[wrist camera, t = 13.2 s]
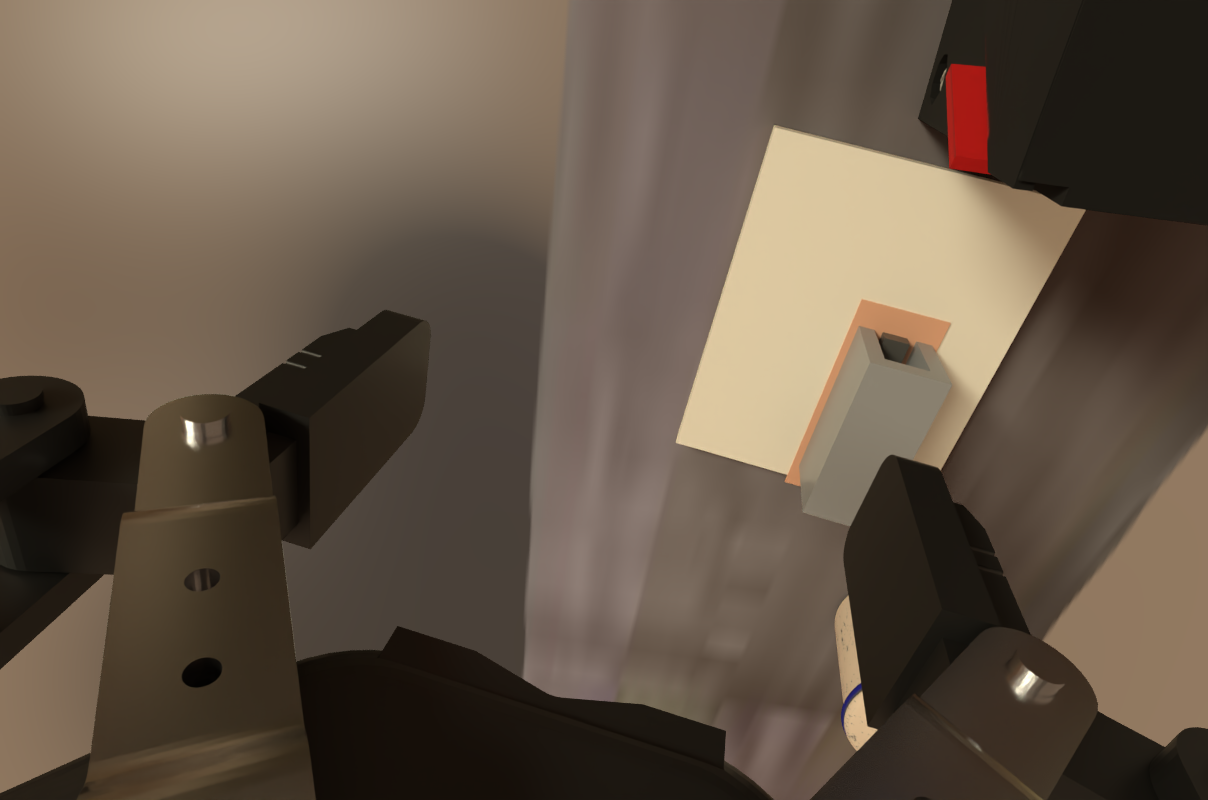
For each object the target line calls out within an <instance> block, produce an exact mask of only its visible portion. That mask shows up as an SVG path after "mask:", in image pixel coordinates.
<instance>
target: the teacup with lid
mask: <svg viewBox="0 0 1208 800" xmlns="http://www.w3.org/2000/svg"><path fill="white" fill-rule="evenodd" d="M835 633H836V642H837V651H838V659H839V668H840V677H841V686H842V695H843V703H844V704H843V707H842V712H841V721H842V726H843V729H844V732H845V734H846V736H847V737H848V739H849V741H850V743H851V744H852V746H853V747H854V748H855V749H856V750H857V751H858V750H859V749H860V748H861V747H862V746H863V745H864V744H865V743H866V742H867V741H868V739H869V738H870V737H871V736H872V735H873V734H874V733H875V732H876V731H877V729H874V728H871V727H868V726H867V721H866V714H865V707H864V700H863V693H862V686H861V679H860V672H859V665H858V658H857V651H856V644H855V637H854V630H853V623H852V616H851V610H850V603H849V596H847V597H846V598H845V599H844V600H843V602H842V603H841V605H840V606H839V608H838V610H837V613H836V616H835Z"/></svg>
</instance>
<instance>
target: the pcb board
mask: <svg viewBox="0 0 1208 800" xmlns="http://www.w3.org/2000/svg"><path fill="white" fill-rule="evenodd" d="M1085 211H1086V210H1085V209H1077V208H1069V207H1062V206H1060V205H1058V204H1057V203H1055V202H1053V201H1052V200H1050V199H1049V198H1047V197H1045V196H1044V195H1042V194H1040V193H1039V192H1037V191H1036V190H1033V191H1026V190H1018V189H1013V188H1011V187H1010V186H1008V185H1006V184H1005V183H1003V182H1000V181H996V180H992V179H988V178H984V177H980V176H976V175H972V174H968V173H964V172H960V171H956V170H952V169H948V168H944V167H940V166H936V165H932V164H928V163H924V162H920V161H916V160H912V159H908V158H904V157H900V156H896V155H892V154H888V153H884V152H880V151H876V150H872V149H868V148H864V147H860V146H856V145H852V144H848V143H844V142H841V141H837V140H833V139H829V138H825V137H821V136H817V135H813V134H809V133H805V132H801V131H797V130H793V129H789V128H785V127H781V126H777V125H774V127H773V130H772V133H771V136H770V140H769V143H768V146H767V149H766V152H765V156H764V159H763V162H762V165H761V168H760V172H759V175H758V178H757V181H756V184H755V188H754V191H753V194H752V197H751V201H750V204H749V207H748V210H747V213H746V217H745V220H744V223H743V226H742V229H741V233H740V236H739V239H738V242H737V245H736V249H735V252H734V255H733V258H732V262H731V265H730V268H729V271H728V274H727V278H726V281H725V284H724V287H723V290H722V294H721V297H720V300H719V303H718V306H717V310H716V313H715V316H714V319H713V322H712V326H711V329H710V332H709V335H708V339H707V342H706V345H705V348H704V351H703V355H702V358H701V361H700V364H699V367H698V371H697V374H696V377H695V380H694V383H693V387H692V390H691V393H690V396H689V399H688V403H687V406H686V409H685V412H684V416H683V419H682V422H681V425H680V428H679V432H678V435H677V439H676V443H679V444H682V445H686V446H689V447H693V448H696V449H700V450H703V451H707V452H710V453H713V454H717V455H720V456H724V457H727V458H731V459H734V460H738V461H741V462H745V463H748V464H751V465H755V466H758V467H762V468H765V469H769V470H772V471H776V472H779V473H783V474H786V475H787V477H786V479H785V482H787V483H791V484H794V485H798V486H801V485H800V471H799V465H800V462H801V460H802V458H803V455H804V453H805V451H806V448H807V446H808V444H809V441H810V439H811V437H812V434H813V432H814V430H815V427H816V425H817V423H818V420H819V418H820V416H821V413H822V411H823V409H824V406H825V404H826V402H827V399H828V397H829V395H830V392H831V390H832V388H833V385H834V383H835V381H836V378H837V376H838V374H839V371H840V369H841V366H842V364H843V362H844V359H845V357H846V355H847V352H848V350H849V348H850V345H851V343H852V341H853V338H854V336H855V334H856V331H857V329H858V327H859V326H861V327H865V328H869V329H873V330H875V333H876V336H877V338H878V341H879V339H880V337H881V335H882V333H883V332H885V333H889V334H892V335H896V336H900V337H903V338H907V339H908V341H909V343H910V346H909V348H908V350H907V352H906V354H905V357H904V359H903V361H902V363H901V364H906V362H907V360H908V358H909V356H910V354H911V352H912V349H913V347H914V345H915V343H916V341H917V342H921V343H924V344H928V345H932V346H933V348H934V350H935V352H936V354H937V356H938V358H939V360H940V362H941V364H942V366H943V367H944V369H945V371H946V373H947V375H948V377H949V379H950V381H951V383H952V387H951V389H950V390H949V392H948V394H947V396H946V398H945V400H944V402H943V404H942V406H941V408H940V409H939V411H938V413H937V415H936V417H935V419H934V421H933V423H932V425H931V427H930V428H929V430H928V432H927V434H926V436H925V438H924V440H923V442H922V444H921V446H920V447H919V449H918V451H917V453H916V455H915V457H914V459H913V460H914V461H918V462H921V463H925V464H928V465H932V466H935V467H938V468H939V469H940V471H941V469H942V467H943V465H944V463H945V462H946V460H947V458H948V456H949V454H950V453H951V451H952V449H953V447H954V446H955V444H956V442H957V440H958V438H959V437H960V435H961V433H962V431H963V429H964V428H965V426H966V424H967V422H968V420H969V419H970V417H971V415H972V413H973V411H974V410H975V408H976V406H977V404H978V402H979V401H980V399H981V397H982V395H983V394H984V392H985V390H986V388H987V386H988V385H989V383H990V381H991V379H992V377H993V376H994V374H995V372H996V370H997V368H998V367H999V365H1000V363H1001V361H1002V359H1003V358H1004V356H1005V354H1006V352H1007V350H1008V349H1009V347H1010V345H1011V343H1012V342H1013V340H1014V338H1015V336H1016V334H1017V333H1018V331H1019V329H1020V327H1021V325H1022V324H1023V322H1024V320H1025V318H1026V316H1027V315H1028V313H1029V311H1030V309H1031V307H1032V306H1033V304H1034V302H1035V300H1036V298H1037V297H1038V295H1039V293H1040V291H1041V290H1042V288H1043V286H1044V284H1045V282H1046V281H1047V279H1048V277H1049V275H1050V273H1051V272H1052V270H1053V268H1054V266H1055V264H1056V263H1057V261H1058V259H1059V257H1060V255H1061V254H1062V252H1063V250H1064V248H1065V246H1066V245H1067V243H1068V241H1069V239H1070V238H1071V236H1072V234H1073V232H1074V230H1075V229H1076V227H1077V225H1078V223H1079V221H1080V220H1081V218H1082V216H1083V214H1084V212H1085Z"/></svg>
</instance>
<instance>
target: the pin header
mask: <svg viewBox="0 0 1208 800" xmlns="http://www.w3.org/2000/svg"><path fill="white" fill-rule="evenodd" d="M879 344H880V347H881V350H882V353H883V355H884V358H885V359H887V360H890V361H894V362H898V363H902V361H903V359H904V357H905V354H906V352H907V350H908V348H909V346H910V343H909V341H908V339H907V338H903V337H900V336H896V335H892V334H889V333H885V332H883V333H882V335H881V337H880V339H879Z"/></svg>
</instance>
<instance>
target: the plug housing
mask: <svg viewBox="0 0 1208 800" xmlns="http://www.w3.org/2000/svg"><path fill="white" fill-rule="evenodd" d="M951 387H952V383H951V381H950V379H949V377H948V375H947V373H946V371H945V369H944V367H943V366H942V364H941V362H940V360H939V358H938V356H937V354H936V352H935V350H934V348H933V346H932V345H928V344H924V343H921V342H917V341H916V343H915V345H914V347H913V349H912V352H911V354H910V356H909V358H908V360H907V362H906V364H901V363H898V362H894V361H890V360H887V359H885V358H884V355H883V353H882V350H881V347H880V344H879V341H878V338H877V336H876V333H875V330H873V329H869V328H865V327H861V326H859V327H858V329H857V331H856V334H855V336H854V338H853V341H852V343H851V345H850V348H849V350H848V352H847V355H846V357H845V359H844V362H843V364H842V366H841V369H840V371H839V374H838V376H837V378H836V381H835V383H834V385H833V388H832V390H831V392H830V395H829V397H828V399H827V402H826V404H825V406H824V409H823V411H822V413H821V416H820V418H819V420H818V423H817V425H816V427H815V430H814V432H813V434H812V437H811V439H810V441H809V444H808V446H807V448H806V451H805V453H804V455H803V458H802V460H801V462H800V465H799V471H800V485H801V498H802V512H803V513H806V514H809V515H813V516H816V517H820V518H823V519H827V520H830V521H833V522H837V523H840V524H844V525H847V526H851V524H852V522H853V520H854V518H855V516H856V514H857V512H858V510H859V508H860V506H861V504H862V502H863V500H864V498H865V496H866V494H867V492H868V490H869V488H870V486H871V484H872V482H873V480H874V478H875V476H876V474H877V472H878V470H879V468H880V466H881V464H882V463H883V461H884V460H885V459H886V458H887V457H888V456H889V455H896V456H900V457H903V458H907V459H911V460H913V459H914V457H915V455H916V453H917V451H918V449H919V447H920V446H921V444H922V442H923V440H924V438H925V436H926V434H927V432H928V430H929V428H930V427H931V425H932V423H933V421H934V419H935V417H936V415H937V413H938V411H939V409H940V408H941V406H942V404H943V402H944V400H945V398H946V396H947V394H948V392H949V390H950V389H951Z"/></svg>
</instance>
